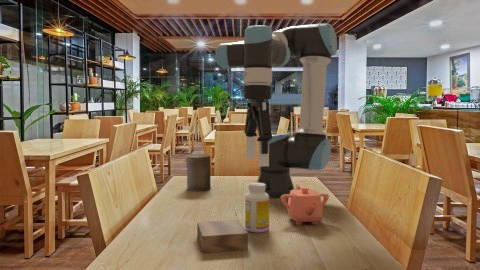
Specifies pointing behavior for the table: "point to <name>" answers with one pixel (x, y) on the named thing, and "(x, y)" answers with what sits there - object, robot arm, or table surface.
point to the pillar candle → (198, 172)
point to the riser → (222, 236)
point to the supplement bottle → (257, 208)
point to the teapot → (304, 205)
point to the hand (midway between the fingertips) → (256, 162)
